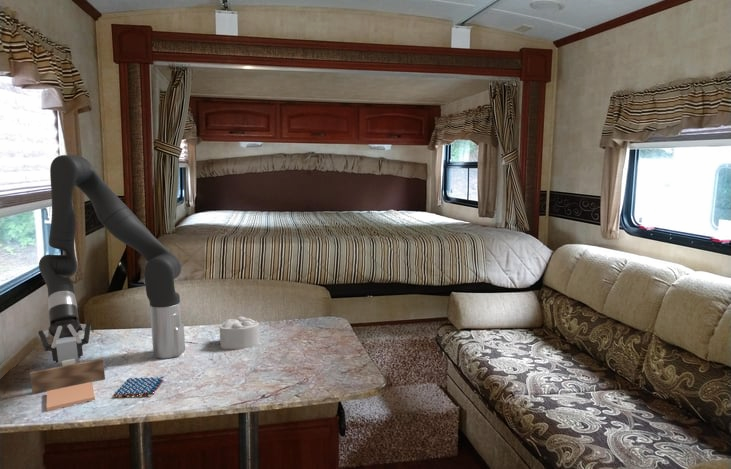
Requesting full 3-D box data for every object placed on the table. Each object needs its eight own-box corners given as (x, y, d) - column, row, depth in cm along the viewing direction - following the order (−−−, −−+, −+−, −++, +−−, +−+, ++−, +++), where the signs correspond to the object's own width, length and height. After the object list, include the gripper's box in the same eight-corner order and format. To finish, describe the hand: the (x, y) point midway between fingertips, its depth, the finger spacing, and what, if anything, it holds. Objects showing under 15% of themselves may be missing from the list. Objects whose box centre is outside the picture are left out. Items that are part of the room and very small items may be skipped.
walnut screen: (104, 377, 150) (103, 358, 149) (105, 379, 149) (103, 359, 148) (32, 392, 141) (30, 372, 140) (32, 394, 140) (30, 373, 139)
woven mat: (127, 383, 147) (127, 376, 147) (164, 382, 148) (164, 375, 148) (112, 400, 137) (111, 393, 137) (152, 399, 138) (151, 392, 137)
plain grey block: (79, 367, 153) (75, 335, 151) (79, 373, 148) (76, 340, 147) (60, 371, 150) (56, 339, 148) (60, 377, 146) (56, 344, 144)
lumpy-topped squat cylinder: (225, 338, 182) (224, 315, 180) (261, 337, 182) (260, 314, 181) (218, 349, 171) (217, 325, 170) (257, 348, 172) (256, 324, 171)
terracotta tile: (92, 384, 145) (91, 381, 145) (95, 400, 136) (94, 396, 136) (47, 394, 139) (46, 391, 139) (46, 411, 130) (46, 407, 130)
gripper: (34, 307, 149) (37, 359, 140) (89, 299, 156) (95, 348, 148) (36, 319, 154) (40, 370, 146) (89, 311, 161) (96, 359, 153)
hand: (68, 359), depth 147 cm, fingers closed on plain grey block, 5 cm apart
